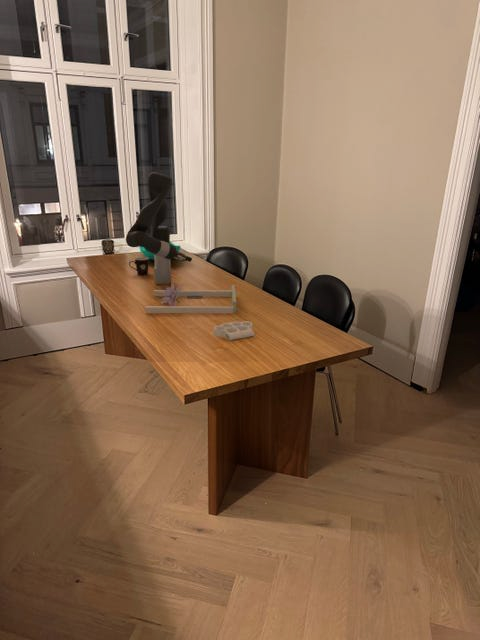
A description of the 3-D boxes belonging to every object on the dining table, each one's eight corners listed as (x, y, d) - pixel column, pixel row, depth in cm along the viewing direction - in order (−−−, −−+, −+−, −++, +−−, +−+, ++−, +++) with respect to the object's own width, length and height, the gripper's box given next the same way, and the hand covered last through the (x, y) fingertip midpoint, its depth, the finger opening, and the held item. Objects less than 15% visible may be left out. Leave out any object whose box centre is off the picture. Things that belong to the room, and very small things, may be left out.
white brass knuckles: (222, 343, 178) (209, 331, 190) (261, 336, 186) (245, 325, 198) (222, 336, 177) (209, 324, 189) (261, 329, 184) (245, 318, 197)
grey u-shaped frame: (146, 313, 209) (145, 301, 207) (154, 295, 235) (153, 284, 233) (236, 313, 211) (236, 301, 209) (234, 295, 237) (234, 285, 235)
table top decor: (133, 256, 323) (132, 238, 318) (169, 252, 335) (168, 235, 331) (150, 268, 291) (149, 248, 286) (188, 264, 303) (188, 245, 298)
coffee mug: (151, 272, 280) (150, 257, 276) (147, 276, 272) (146, 260, 268) (133, 271, 281) (132, 256, 277) (129, 275, 273) (128, 259, 269)
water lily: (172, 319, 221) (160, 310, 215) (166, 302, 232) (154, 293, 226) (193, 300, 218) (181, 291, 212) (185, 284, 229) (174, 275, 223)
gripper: (174, 246, 208) (200, 257, 220) (160, 239, 217) (186, 249, 229) (168, 260, 209) (194, 270, 222) (154, 252, 218) (181, 262, 231)
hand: (190, 259), depth 225 cm, fingers closed
